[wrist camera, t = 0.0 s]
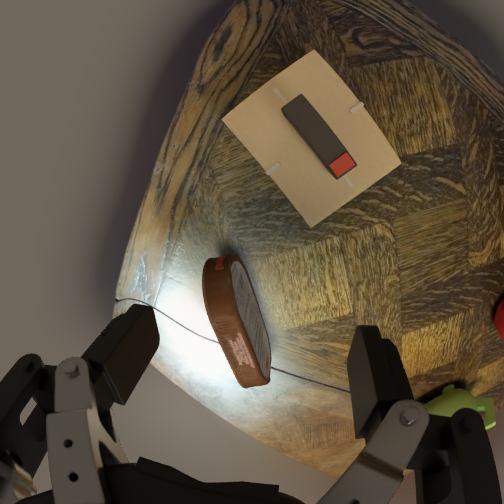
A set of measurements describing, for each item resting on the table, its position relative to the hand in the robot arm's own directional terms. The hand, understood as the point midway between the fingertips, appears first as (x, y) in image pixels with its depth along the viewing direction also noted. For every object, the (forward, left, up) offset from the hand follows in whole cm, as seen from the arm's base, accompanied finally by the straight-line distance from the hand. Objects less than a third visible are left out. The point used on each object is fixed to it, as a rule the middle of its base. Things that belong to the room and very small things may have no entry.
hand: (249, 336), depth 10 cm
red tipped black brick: (-4, +7, -15) cm, 17 cm away
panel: (-4, +7, -18) cm, 20 cm away
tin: (+6, -9, -18) cm, 21 cm away
